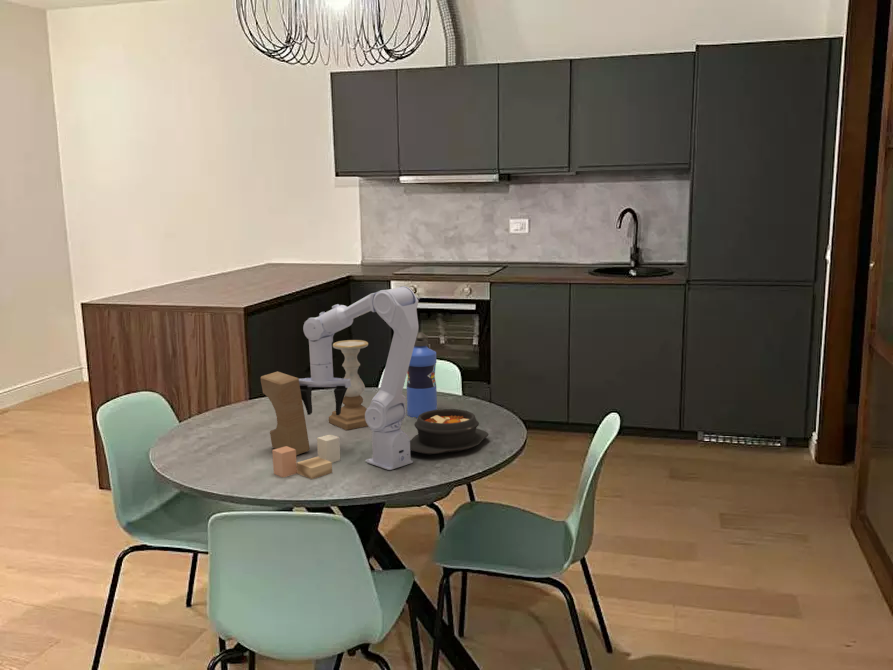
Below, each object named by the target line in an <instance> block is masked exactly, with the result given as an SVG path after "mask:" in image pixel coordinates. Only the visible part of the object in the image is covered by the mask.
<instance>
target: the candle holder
mask: <svg viewBox="0 0 893 670" xmlns="http://www.w3.org/2000/svg"><path fill="white" fill-rule="evenodd" d="M368 346H369V342H368V341H366V340H362V339H347V340H338V341H336V342H332V348H333V349H336V350H340V351H341V353H342V354H343V356H344V361H343V363H342V365H341V367H343V369H344V370H345V374H344V377H343V379H351V386H350V387H349V388H347V391H346V393H345V396H344V399H343V402H342V406H341V413H340V414H339V415H336V410H332V412H331V414H330V415H329V416H328V423H329V424H331V425H332V426H335V427H338V428H339V429H341V430H345V431H351V430H355V429H361V428H365V427H369V426H368V425H367V423H366V420H365V412H366V410H367V408H368V407H366V406H364V405H362V404H363V402H364V398H363V397H362V394H363V393H364V392H365V389H366V386H365V384H364V382H363V380H362V378H360V375H359V373H358V370H359V367H361V363H360V361H359V360H358V355H359V353H360V351H361V349H364V348H366V347H368Z"/></svg>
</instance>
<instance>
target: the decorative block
mask: <svg viewBox="0 0 893 670" xmlns="http://www.w3.org/2000/svg"><path fill="white" fill-rule="evenodd" d="M299 379H300V378H299V377H295V376H293V375H290V374H286V373H285V372H284V373H283V372H281V371H274V372H271V373H268V374H264V375H261V376H260V383H261V390H262V394H263V395H265V396H266V397H267V398H268V400H269V401H270V402H271V405H272V406H273V409H274V413H275V416H276V427H275V428H274V429H272V430H270V431H269V436H270V437H269V438H270V442H271V447H272V448H274V449H278V448H281V447H285V446H288V447H290V448H293V449H295V450H296V456H299V455H301V454H304V453H306V452H309V451H311V448H310V441H309V433H308V430H307V424H306V417H305V416H306V415H305V410H304V402H303V400H302V397H301V390H300V384H299Z"/></svg>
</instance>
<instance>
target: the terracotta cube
mask: <svg viewBox="0 0 893 670" xmlns="http://www.w3.org/2000/svg"><path fill="white" fill-rule="evenodd" d="M271 452H272V467H273V474H274V475H276V476H278V477H280V478H286V477H290V476H294V475H296V474H297V455H296V450H295V449H293V448H290V447H288V446H285V447H281V448H278V449H275V448H274V449H272V451H271Z"/></svg>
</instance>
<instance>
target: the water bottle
mask: <svg viewBox="0 0 893 670" xmlns="http://www.w3.org/2000/svg"><path fill="white" fill-rule="evenodd" d="M427 337H428V336H427V335H426V334H425V333H424V332H423V331H422V332H421V331H418V333H417V337H416V341H415V345H414V349H413V352H412V356H411V360H410V364H409V368H408V372H407V375H406V376H407V378H406V379H407V380H406V381H407V382H406V416H408V417H409V416H410V417H409V418H413V417H416V418H415V419H418V416H419V415H420V414H422V413H424V412H427V411H431V410H438V397H437V393H438V392H437V381H436V365H437V351H436V350H434V349H431V348H429V347H428V345H429V344H428V339H426V338H427Z"/></svg>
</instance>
